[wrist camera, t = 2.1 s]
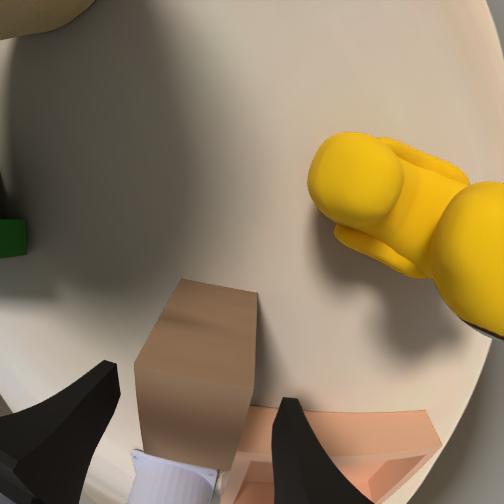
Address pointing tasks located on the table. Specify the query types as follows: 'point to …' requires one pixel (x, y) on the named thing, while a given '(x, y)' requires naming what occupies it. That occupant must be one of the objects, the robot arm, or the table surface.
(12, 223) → the clamp
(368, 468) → the pink rectangular tray
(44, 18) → the plant pot
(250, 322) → the tan wooden block
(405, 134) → the table surface
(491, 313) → the duckling
